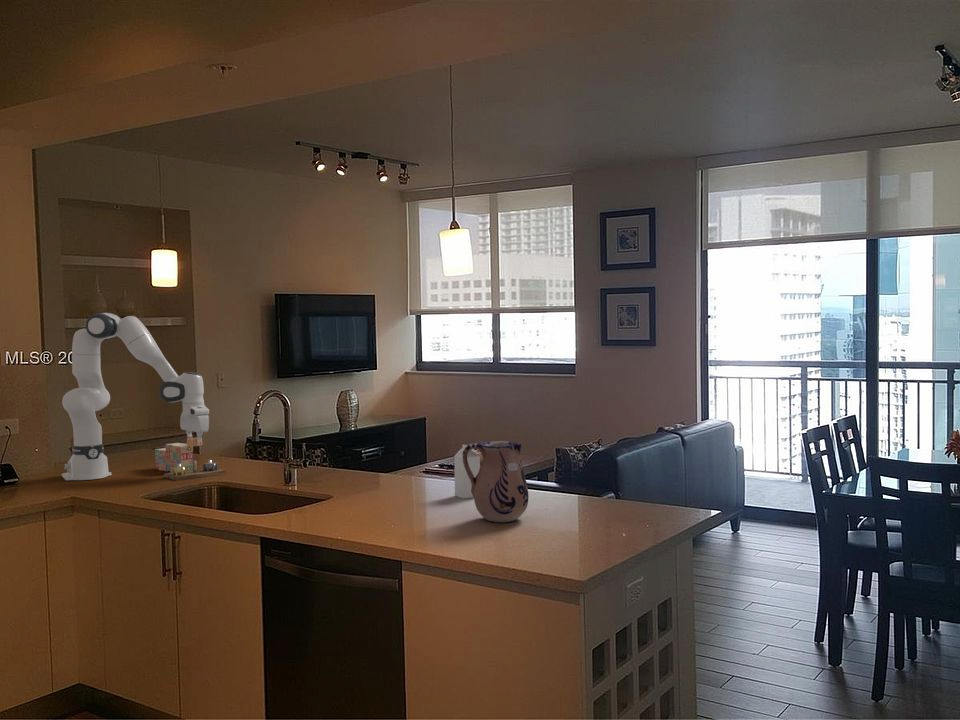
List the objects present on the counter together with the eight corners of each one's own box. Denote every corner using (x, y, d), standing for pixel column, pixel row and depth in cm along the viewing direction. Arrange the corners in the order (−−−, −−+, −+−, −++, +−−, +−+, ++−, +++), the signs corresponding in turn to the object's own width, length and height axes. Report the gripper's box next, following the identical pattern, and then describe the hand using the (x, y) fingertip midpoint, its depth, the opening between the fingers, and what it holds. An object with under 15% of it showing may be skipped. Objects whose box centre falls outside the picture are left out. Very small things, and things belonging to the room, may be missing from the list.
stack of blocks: (155, 469, 384) (154, 442, 384) (167, 467, 389) (167, 441, 388) (180, 474, 371) (180, 446, 370) (193, 472, 375) (193, 444, 375)
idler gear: (184, 445, 365) (184, 438, 365) (198, 444, 369) (198, 437, 369) (190, 446, 360) (190, 439, 360) (204, 445, 365) (204, 438, 365)
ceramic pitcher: (532, 525, 266) (531, 445, 265) (465, 527, 264) (464, 447, 263) (524, 513, 283) (524, 438, 282) (462, 515, 282) (461, 440, 281)
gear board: (164, 477, 362) (163, 462, 362) (212, 470, 377) (212, 456, 377) (176, 480, 353) (176, 465, 353) (225, 474, 369) (225, 459, 368)
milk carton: (463, 499, 308) (462, 447, 307) (454, 495, 314) (454, 445, 314) (480, 497, 311) (479, 445, 311) (471, 494, 318) (471, 443, 317)
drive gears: (168, 474, 361) (168, 463, 360) (213, 468, 375) (213, 458, 374) (175, 476, 356) (175, 465, 356) (220, 470, 370) (220, 459, 370)
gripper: (176, 408, 370) (176, 440, 370) (197, 411, 355) (198, 444, 355) (189, 407, 374) (190, 438, 374) (211, 410, 359) (212, 442, 360)
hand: (194, 441), depth 365 cm, fingers closed on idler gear, 6 cm apart
